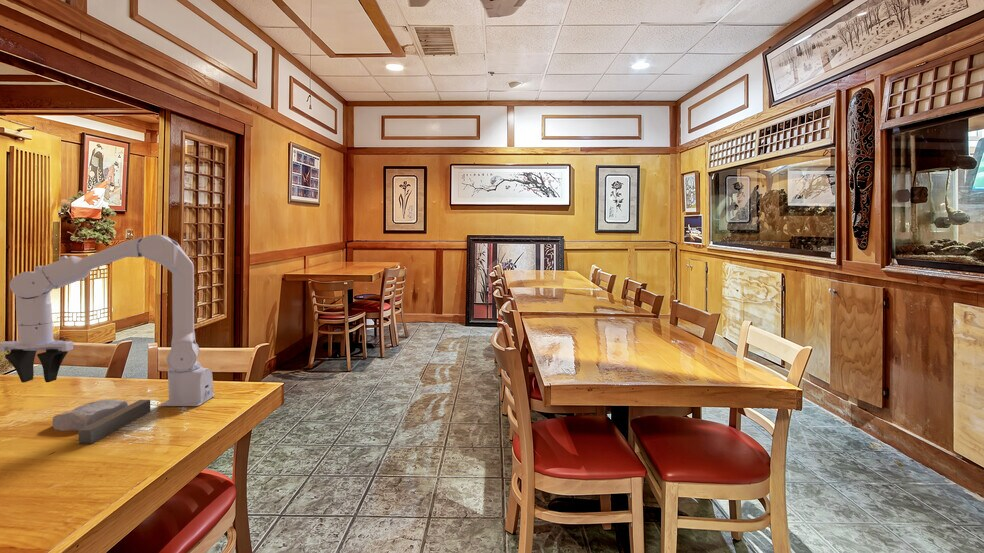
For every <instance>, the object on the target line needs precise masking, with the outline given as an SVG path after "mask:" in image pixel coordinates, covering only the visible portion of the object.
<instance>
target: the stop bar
mask: <svg viewBox="0 0 984 553" xmlns="http://www.w3.org/2000/svg"><path fill="white" fill-rule="evenodd" d="M151 410H152V409H151V399H139V400H137V401H135V402H132V403H130V404H128V406H126V407H124V408H122V409H120V410H118V411H116V412H114V413H112V414H110V415H108V416H106V417H104V418H102V419H100V420H98V421H96V422H94V423H92V424H90V425H88V426H86V427H84V428H82V429H80V430H77V432H78V445H92V444H94V443H96V442H98V441H100V440H101V439H104V438H105V437H107V436H108V435H111V434H112V433H114V432H116V431H118V430H120V429H122V428H123V427H125V426H127V425H129V424H130V423H132V422H134V421H136V420H138V419H139V418H141V417H143V416H145V415H148V413H151Z"/></svg>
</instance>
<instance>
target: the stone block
mask: <svg viewBox="0 0 984 553" xmlns="http://www.w3.org/2000/svg"><path fill="white" fill-rule="evenodd" d="M128 405H129V403H128V401H126V400H120V399H115V398H114V399H110V398H105V399H100V400H96V401H91V402H88V403H85V404H84V405H80V406H77V407H75V408H74V409H72V410H70V411H66V412H63V413H60V414H57V415H54V416H53V417H52V421H51V424H52V428H53V430H56V431H62V432H64V431H78V430H80V429H82V428H84V427H86V426H88V425H90V424H92V423H94V422H96V421H98V420H100V419H102V418H104V417H106V416H108V415H110V414H112V413H114V412H116V411H118V410H120V409H122V408H124V407H126V406H128Z"/></svg>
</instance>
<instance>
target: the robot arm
mask: <svg viewBox="0 0 984 553" xmlns="http://www.w3.org/2000/svg"><path fill="white" fill-rule="evenodd" d="M142 257H143V258H145V259H146V260H149V261H152V262H154V263H156V264H160V265H161V266H163V267H164V268H165V269H167V270H168V271H169V272H170V273H171V274H172V275H171V277H172V278H171V283H172V285H171V286H172V287H171V288H172V289H171V290H172V291H171V293H172V294H171V295H172V296H171V298H172V299H171V300H172V307H171V308H172V313H171V314H172V336H171V337H172V338H171V344H170V345H171V347H170V348H171V349H170V351H169V353H168V354H167V356H166V364H167V366H168V367H167V383H168V384H167V385H168V386H167V388H168V400H166V401H164V402H162V403H161V404H160V406H161V407H198V406H200V405H202V404H204V403H206V402H207V401H209V400H210V399H212V398H213V397H215V396H216V394H215V393H214V379H213V378H214V377H213V372H212V370H211V369H210V368H208V367H207V368H206V367H203V366H202V364H201V362H199V360H197V358H198V356H199V354H200V350H201V349H200V347H199V344H198V343H197V342H196V332H195V266H194V262H193V261H192V260H191V259H190V257H189V256H188V255H187V253H186V252H185V250H183V248H182V247H181V245H180V244H179V243H178V242H177V241H175V240H174V239H172V238H170V237H169V236H167V235H164V234H149V235H146V236H144V237H138V238H133V239H130V240H125V241H123V242H119V243H118V244H115V245H113V246H110V247H108V248H105V249H101V250H99V251H98V252H96V253H92V254H90V255H87V256H84V257H80V256H79V257H78V256H76V255H71V256H67V255H62V256H60V257H58V258H57V259H58V260H56V261H54V262H51V263H48V264H45V265H43V266H42V265H37V266H34V267H33V269H34V271H22V272H20V273H19V274H17V275H14V276H13V278H12V279H11V280H10V282H9V289H10V291H11V292H12V293H13V295H15V311H16V324H17V325H16V326H17V337H18V338H17V339H18V340H15V341H13V340H12V341H11V340H9V341H3V342H0V352H7V351H8V352H9V351H10V352H9V353H6V354H5V355H4V358H5V359H6V360H7V361H8V362H9V363H10V364H11V365H12V367H13V368H14V370H15V371H16V373H17V375H18V378H19V379H20V382H21V383H26V382H30V381H33V379H34V364H35V357H36V356H37V358H38V359H39V362H40V364H41V367H42V371H43V372H42V373H43V377H44V378H43V379H44V382H45V383H51V382H54V381H56V380H57V378H58V373H59V370H60V368H61V364H62V363H63V361H64V359H65V357H66V356H67V354H68V352H69V351H72V350H74V342H73V341H71V340H59V339H54V328H53V313H52V302H51V292H52V290H57V289H59V288H62V287H65V286H69V285H70V284H74V283H76V282H78V281H82V280H84V279H86V278H88V277H89V274H90V272H91V271H92V270H94V269H96V268H99V267H103V266H105V265H108V264H111V263H114V262H117V261H119V260H122V259H125V258H142ZM37 351H43V352H40V353H37ZM36 353H37V355H36Z"/></svg>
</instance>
